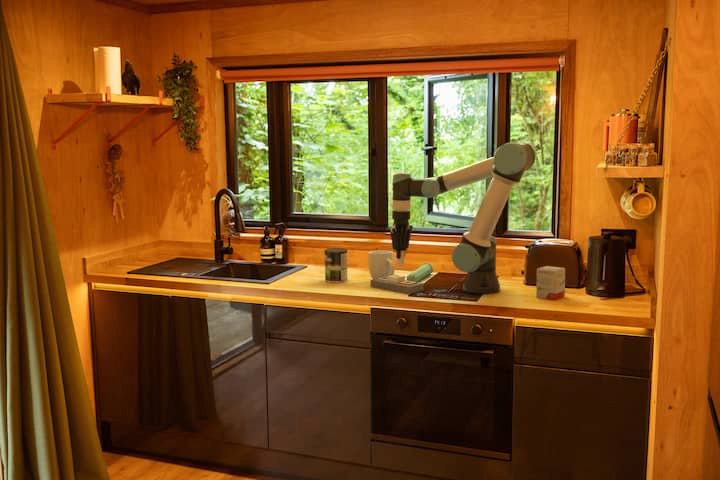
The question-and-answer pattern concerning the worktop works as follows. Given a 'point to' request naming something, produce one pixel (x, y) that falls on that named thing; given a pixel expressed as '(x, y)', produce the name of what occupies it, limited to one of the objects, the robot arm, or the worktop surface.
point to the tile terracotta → (408, 283)
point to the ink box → (550, 282)
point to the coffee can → (336, 265)
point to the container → (420, 272)
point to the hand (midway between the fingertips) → (400, 265)
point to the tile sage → (383, 279)
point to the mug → (381, 263)
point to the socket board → (397, 286)
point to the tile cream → (396, 278)
